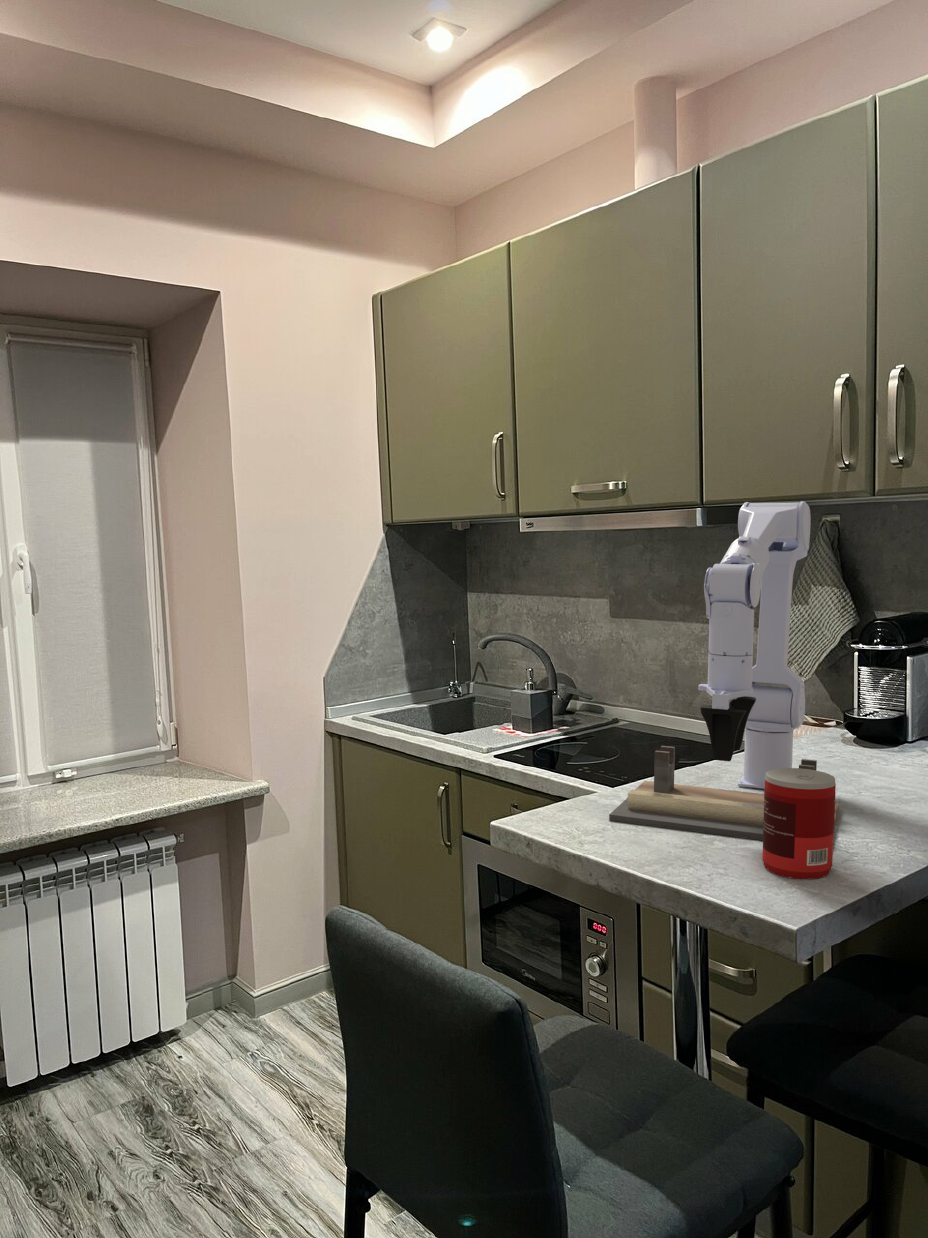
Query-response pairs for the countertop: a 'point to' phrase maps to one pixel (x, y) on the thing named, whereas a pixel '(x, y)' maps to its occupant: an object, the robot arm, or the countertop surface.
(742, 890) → the countertop surface
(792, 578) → the robot arm
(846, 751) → the countertop surface
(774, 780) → the canned food
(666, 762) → the rack
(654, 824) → the mat
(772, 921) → the countertop surface
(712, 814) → the rail
